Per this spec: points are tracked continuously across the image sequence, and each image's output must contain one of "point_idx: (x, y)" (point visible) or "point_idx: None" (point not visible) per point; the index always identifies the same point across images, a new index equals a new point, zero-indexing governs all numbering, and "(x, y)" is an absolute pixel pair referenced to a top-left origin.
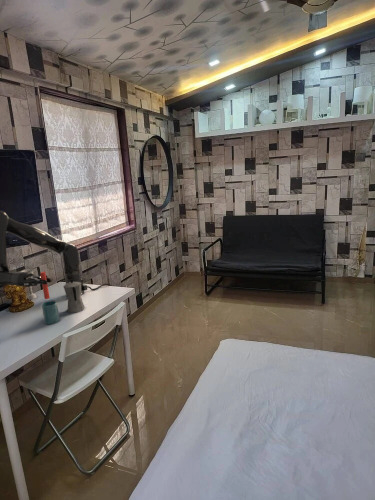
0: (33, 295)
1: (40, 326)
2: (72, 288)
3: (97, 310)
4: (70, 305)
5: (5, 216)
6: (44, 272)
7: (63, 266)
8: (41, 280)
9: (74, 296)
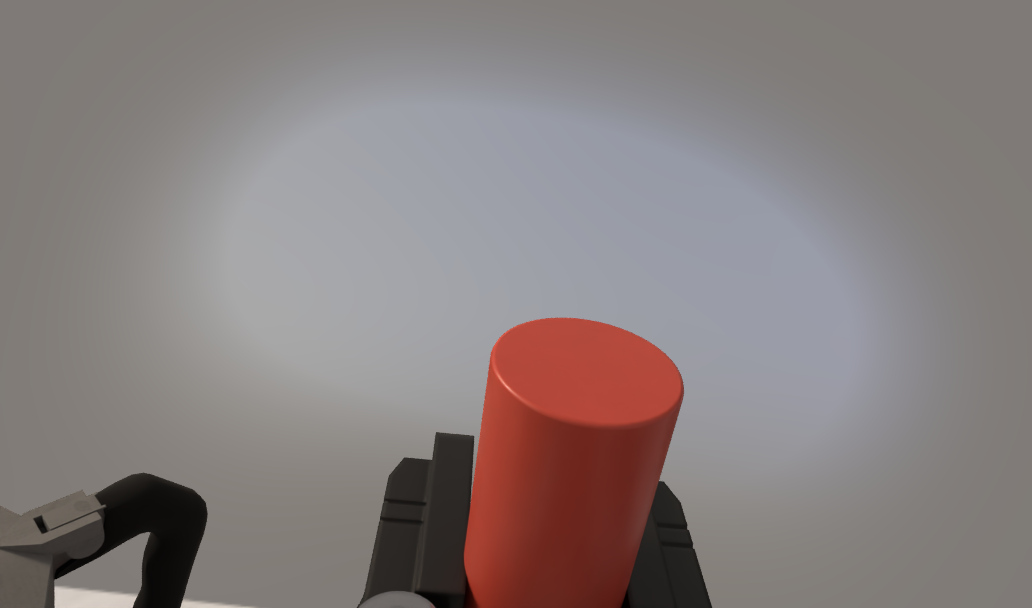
0: None
1: None
2: (157, 504)
3: (110, 595)
4: None
5: None
6: (574, 321)
7: None
8: (661, 577)
9: (184, 590)
